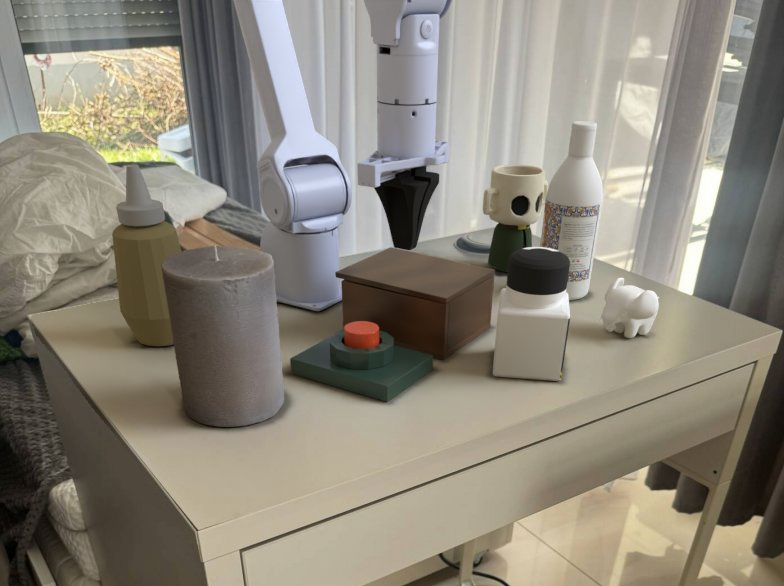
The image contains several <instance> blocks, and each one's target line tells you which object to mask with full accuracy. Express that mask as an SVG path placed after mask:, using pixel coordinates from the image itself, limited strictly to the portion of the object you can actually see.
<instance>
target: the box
mask: <svg viewBox="0 0 784 586" xmlns="http://www.w3.org/2000/svg"><path fill="white" fill-rule="evenodd" d="M340 283H341V287H342V300H341V307H342V331H344V327H345V325H346V324H348V323H351V322H356V321H368V322H372V323H375V324H377V325H378V326H379V331H383V332H386V333H388V334H389V335H390V336H392V337H393V338H394V345H395V346H399V347H403V348H407V349H411V350H415V351H418V352H422V353H426V354H430V355H433V359H437V360H441V361H445V360H446V359H448V358H449V357H450V356H452V355H453V354H454V353H456V352H458V351H459V350H460V349H462V348H464V347H465V346H466V345H467V344H469V343H471V342H472V341H473V340H475V339H476V338H478V337H479V336H480V335H482V334H483V333H485V332H486V331H488V330H489V329H491V324H492V323H491V322H492V312H493V311H492V310H493V299H494V289H495V288H494V287H495V275H493V276H492V277H490V278H488V279H487V280H485V281H483V282H482V283H480V284H478V285H477V286H475V287H473V288H472V289H470V290H468V291H467V292H465V293H463V294H462V295H460V296H458V297H457V298H455V299H453V300H452V301H450V302H448V303H447V304H444V303H440V302H436V301H432V300H428V299H424V298H420V297H415V296H411V295H407V294H403V293H399V292H395V291H390V290H386V289H382V288H378V287H374V286H370V285H366V284H361V283H357V282H353V281H349V280H345V279H342V280H340Z"/></svg>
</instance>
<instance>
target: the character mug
mask: <svg viewBox="0 0 784 586" xmlns="http://www.w3.org/2000/svg"><path fill="white" fill-rule="evenodd" d="M548 188H549V182H548V180H547V179H546V170H545V169H544V168H541V167H538V166H533V165H527V164H502V165H501V164H500V165H496V166H494V167H492V169H491V175H490V187H488V188H486V189H485V190H484V191H483V198H482V199H483V200H482V213H483V215H485V216H488V217H489V219H490V220H491V221H493V222H495V223H497V224H496V225H495V227H494V229H493V233H492V238H491V243H490V247H489V253H488V258H487V264H488V265H489V266H491V267H492V268H494V269H495V270H498V271H499V272H506V273H508V263H509V257H510V256H511V255H512V253H514V252H515V251H518V250H520V249H523V248H527V247H533V235H532V234H533V232H532V228H531V225H534V224H536V223H537V222H538V221H539V219H540V218H541V215H542V211H543V206H545V201H546V195H547V191H548Z"/></svg>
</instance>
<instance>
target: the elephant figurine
mask: <svg viewBox="0 0 784 586" xmlns="http://www.w3.org/2000/svg"><path fill="white" fill-rule="evenodd" d="M624 284H625V278H623V277H618V278H616V279H615V280H614V281H613V282H612V283H611V284H610V285H609V286H608V288H607V289H606V291H605V294H604V302H605V305H604V307H603V310H602V312H601V315H600V317H599V320H598V321H601V320H602V324H603V327H604V329H605V330H606V331H607V332H613V331H614V332H615V333H617V334H622V333H623V336H624V337H625V338H627V339H633V338H635V337H636V335H637V334H638V335H641V336H646V335H648V334H649V332H650V330H651V328H652V327H653V324H654V322H655V320H656V318H657V315H658V312H659V308H660V307H659V306H660V304H659V299H660V297H659V296H658V295H657V293H656V292H655V291H653V290H650V289H647V290H645V289H643V288H641V287H638V286H636V285H632V284H628V285H624Z"/></svg>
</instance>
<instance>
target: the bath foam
mask: <svg viewBox="0 0 784 586" xmlns="http://www.w3.org/2000/svg"><path fill="white" fill-rule="evenodd" d="M597 130H598V123H597V122H595V121H589V120H576V121H572V123H571V132H570V137H569V144H568V152H567V153H568V155H567V156H566V158H565V159H564V160H563V162H562V163H561V165H560V166H559V167H558V168H557V170H556V172H555V173H554V175H552V177H551V180H550V183H549V184H548V191H547V195H546V201H545V204H544V210H543V218H542V219H543V220H542V225H541V226H542V227H541V234H540V235H541V236H540V244H539V247H546V248H551V249H555V250H558V251H560V252H561V253H563V254H565V255H566V256H567V257H568V258H569V260H570V267H569V274H568V281H567V288H566V292H567V293H568V297H569V301H575V300H579V299H583V298H584V297H585V296H587V295H588V293H589V290H590V285H591V278H592V271H593V266H594V265H593V264H594V259H595V253H596V246H597V241H598V235H599V228H600V221H601V216H602V215H601V214H602V209H603V201H604V186H603V181H602V177H601V174H600V172H599V170H598V167H597V165H596V162H595V160H594V157H593V155H594V151H595V143H596V136H597Z"/></svg>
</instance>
